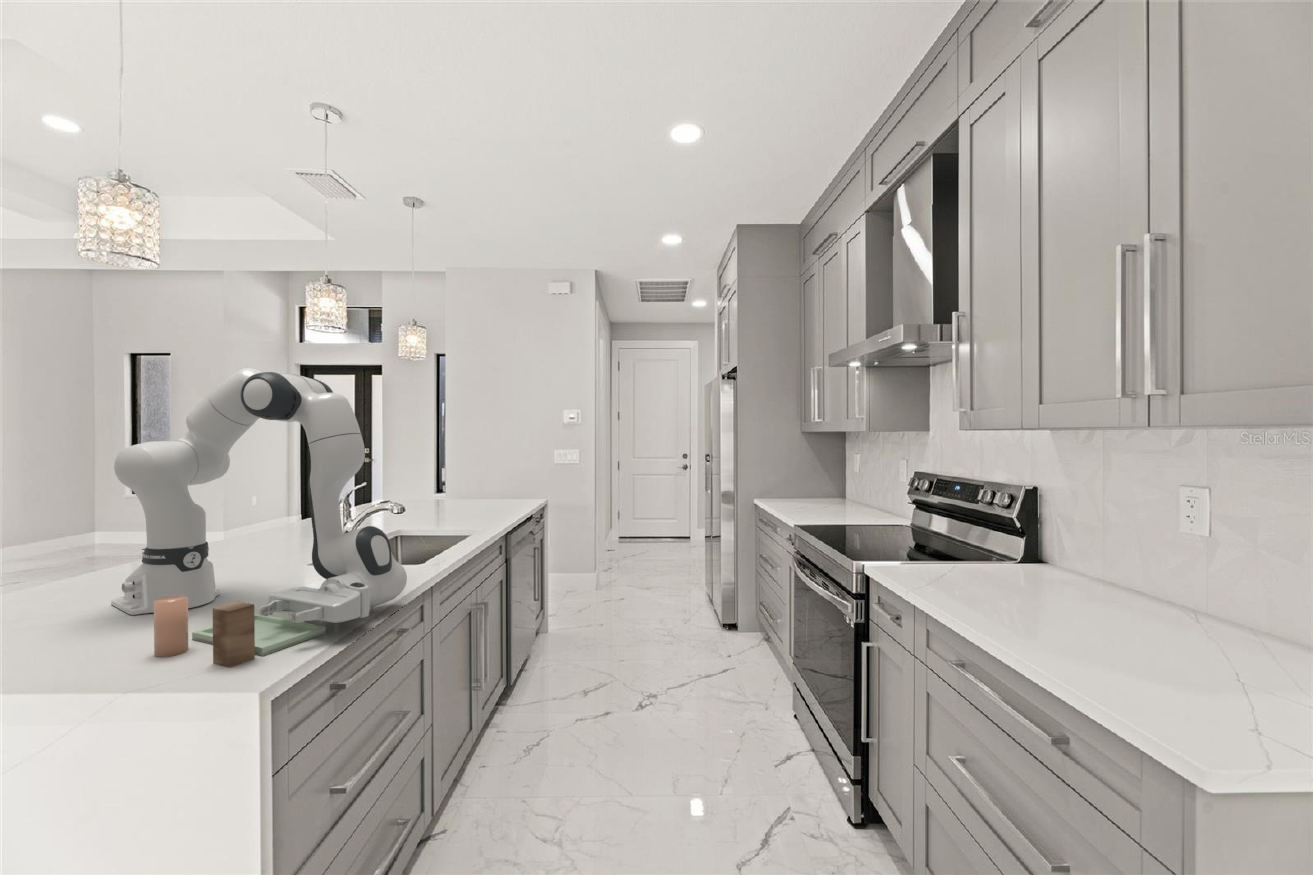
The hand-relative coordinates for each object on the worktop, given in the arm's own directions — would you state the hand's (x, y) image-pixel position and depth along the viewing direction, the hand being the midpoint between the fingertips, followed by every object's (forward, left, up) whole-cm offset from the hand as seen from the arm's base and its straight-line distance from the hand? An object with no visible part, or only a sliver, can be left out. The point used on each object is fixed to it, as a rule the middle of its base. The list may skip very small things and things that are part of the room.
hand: (277, 615), depth 117 cm
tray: (-8, +2, -6) cm, 10 cm away
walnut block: (0, -8, -6) cm, 10 cm away
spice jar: (-15, -10, -6) cm, 19 cm away
